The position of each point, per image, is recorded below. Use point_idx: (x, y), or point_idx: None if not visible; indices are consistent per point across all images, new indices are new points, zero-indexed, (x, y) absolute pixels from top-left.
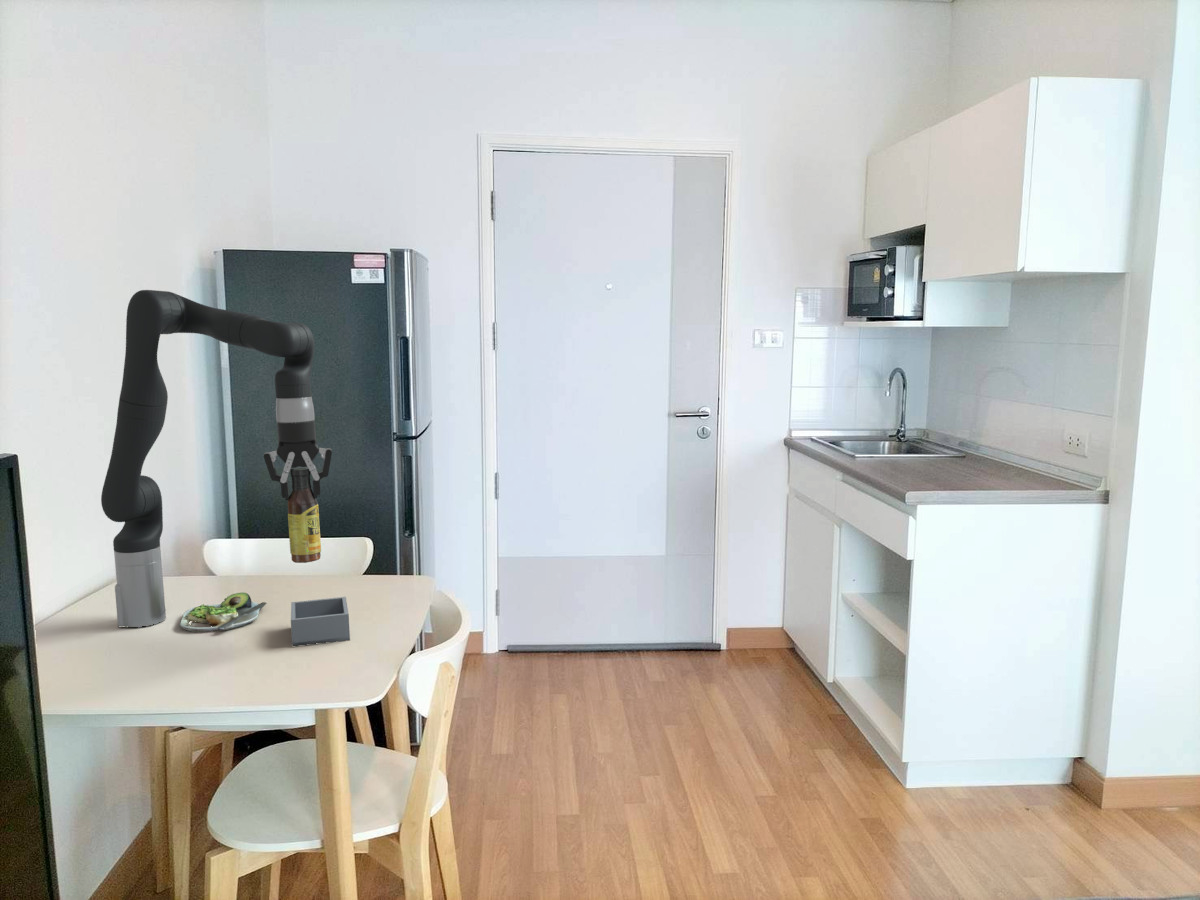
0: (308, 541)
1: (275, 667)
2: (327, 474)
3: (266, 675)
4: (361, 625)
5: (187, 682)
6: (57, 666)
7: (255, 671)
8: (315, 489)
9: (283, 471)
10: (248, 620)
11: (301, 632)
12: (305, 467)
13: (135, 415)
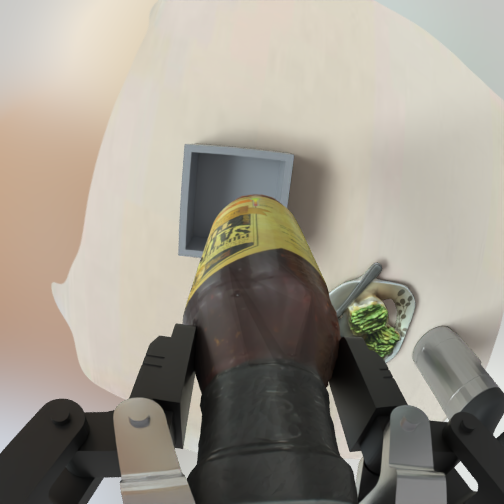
0: (250, 207)
1: (320, 78)
2: (46, 409)
3: (334, 55)
4: (167, 209)
5: (426, 93)
6: None
7: (348, 78)
8: (174, 355)
9: (438, 471)
10: (337, 288)
11: (273, 151)
12: None
13: None
